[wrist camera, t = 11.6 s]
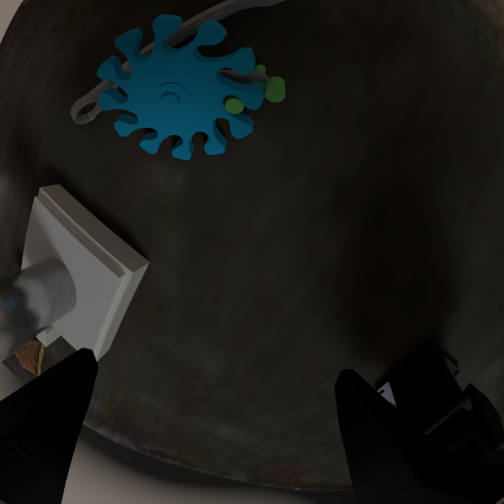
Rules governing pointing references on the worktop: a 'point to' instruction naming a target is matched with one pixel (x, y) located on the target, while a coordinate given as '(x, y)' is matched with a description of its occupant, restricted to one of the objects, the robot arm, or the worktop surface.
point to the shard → (31, 355)
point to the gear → (185, 88)
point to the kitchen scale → (83, 268)
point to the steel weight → (33, 302)
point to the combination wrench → (232, 4)
